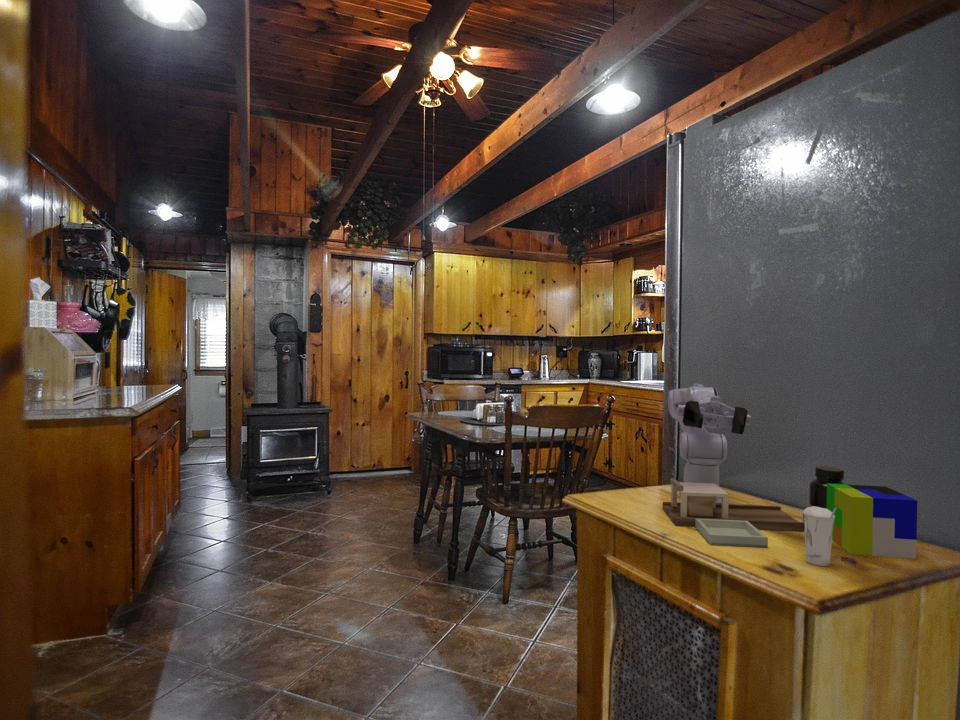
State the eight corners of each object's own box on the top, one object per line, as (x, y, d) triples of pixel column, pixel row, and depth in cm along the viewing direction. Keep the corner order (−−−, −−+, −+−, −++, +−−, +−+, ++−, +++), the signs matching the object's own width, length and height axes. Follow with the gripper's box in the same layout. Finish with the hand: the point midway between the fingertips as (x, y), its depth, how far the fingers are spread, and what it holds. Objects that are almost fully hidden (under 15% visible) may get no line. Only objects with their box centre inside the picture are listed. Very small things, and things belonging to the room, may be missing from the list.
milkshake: (823, 571, 87) (824, 508, 86) (795, 559, 92) (796, 499, 92) (845, 568, 88) (846, 506, 88) (816, 556, 93) (817, 498, 93)
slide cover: (668, 505, 119) (669, 477, 119) (714, 506, 118) (714, 478, 118) (679, 517, 110) (679, 487, 110) (728, 519, 109) (728, 489, 109)
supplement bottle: (803, 528, 108) (804, 468, 108) (812, 520, 113) (814, 463, 113) (844, 536, 103) (845, 473, 103) (852, 528, 108) (853, 468, 108)
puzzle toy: (916, 559, 92) (917, 500, 92) (850, 554, 94) (851, 496, 94) (885, 539, 102) (886, 486, 102) (826, 535, 104) (827, 483, 104)
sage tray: (695, 527, 108) (695, 518, 108) (747, 529, 107) (747, 520, 107) (710, 544, 98) (710, 535, 98) (767, 547, 97) (767, 537, 97)
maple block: (684, 509, 117) (685, 489, 116) (706, 510, 116) (706, 489, 116) (690, 515, 112) (690, 494, 112) (712, 516, 112) (712, 495, 112)
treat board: (662, 508, 121) (662, 501, 121) (779, 513, 118) (779, 506, 118) (675, 525, 109) (675, 517, 109) (805, 531, 106) (805, 523, 106)
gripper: (677, 386, 122) (686, 401, 109) (747, 396, 119) (764, 412, 106) (672, 417, 124) (680, 435, 111) (741, 427, 121) (757, 446, 108)
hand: (721, 426), depth 109 cm, fingers open, 7 cm apart
